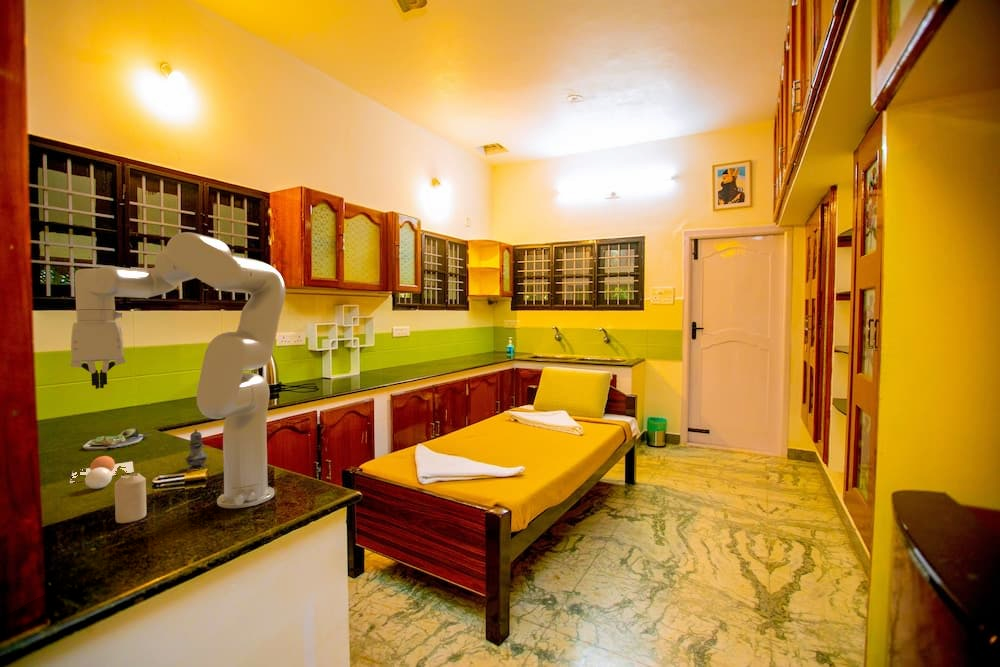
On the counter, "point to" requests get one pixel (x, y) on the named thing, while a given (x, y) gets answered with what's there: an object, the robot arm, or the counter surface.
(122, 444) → the salad plate
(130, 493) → the candle
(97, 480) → the cue ball
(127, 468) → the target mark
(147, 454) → the counter surface
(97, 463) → the object ball
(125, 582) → the counter surface
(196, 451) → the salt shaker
